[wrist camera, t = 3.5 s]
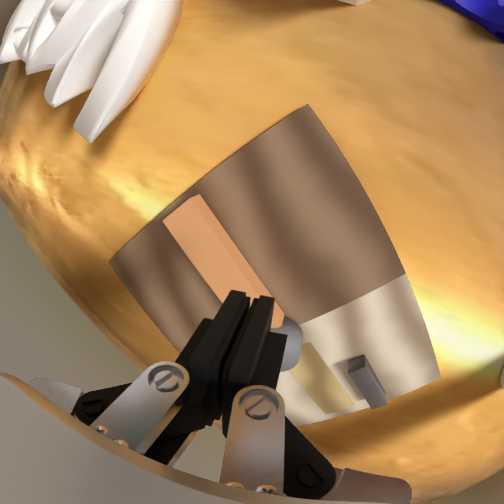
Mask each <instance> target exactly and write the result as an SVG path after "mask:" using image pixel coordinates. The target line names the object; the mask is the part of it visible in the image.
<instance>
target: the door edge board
mask: <svg viewBox="0 0 504 504" xmlns="http://www.w3.org/2000/svg"><path fill="white" fill-rule="evenodd" d="M198 194H200V195H201V197H202V198H203V200H204V201H205V203H206V204H207V205H208V207H209V208H210V210H211V211H212V213H213V214H214V215H215V217H216V218H217V220H218V221H219V223H220V224H221V225H222V227H223V228H224V230H225V231H226V233H227V234H228V235H229V237H230V238H231V240H232V241H233V242H234V244H235V245H236V247H237V248H238V250H239V251H240V252H241V254H242V255H243V257H244V258H245V259H246V261H247V262H248V264H249V265H250V266H251V268H252V269H253V271H254V272H255V274H256V275H257V276H258V278H259V279H260V281H261V282H262V283H263V285H264V286H265V288H266V289H267V290H268V292H269V293H270V295H271V296H272V297H274V298H275V302H276V303H277V304H278V306H279V307H280V309H281V310H282V311H283V313H284V314H285V315H284V317H287V318H290V319H292V320H294V321H295V322H296V323H297V324H298V325H299V326H300V327H301V329H302V332H303V340H302V347H301V353H300V359H299V362H298V364H297V365H296V366H295V367H294V368H292V369H290V370H288V371H284V372H280V374H279V379H278V383H277V387H276V391H277V392H278V393H279V394H280V395H281V396H282V398H283V399H284V404H285V416H286V417H287V418H288V419H289V420H290V421H291V423H292V424H293V425H294V426H295V427H297V426H302V425H307V424H311V423H315V422H320V421H324V420H328V419H331V418H335V417H339V416H342V415H346V414H349V413H353V412H356V411H359V410H362V409H365V408H368V407H371V409H375V408H378V407H381V406H383V405H386V404H387V401H388V400H391V399H393V398H396V397H399V396H401V395H403V394H406V393H408V392H411V391H413V390H415V389H418V388H420V387H422V386H424V385H427V384H429V383H431V382H433V381H435V380H437V379H439V378H441V376H440V372H439V368H438V364H437V361H436V357H435V354H434V350H433V347H432V344H431V340H430V337H429V334H428V331H427V328H426V325H425V322H424V319H423V317H422V314H421V311H420V308H419V306H418V303H417V300H416V298H415V295H414V292H413V290H412V287H411V285H410V282H409V280H408V278H407V275H406V273H405V271H404V268H403V266H402V264H401V261H400V259H399V257H398V255H397V253H396V250H395V248H394V246H393V244H392V242H391V240H390V238H389V236H388V234H387V232H386V230H385V228H384V226H383V224H382V222H381V220H380V218H379V216H378V214H377V212H376V210H375V208H374V206H373V205H372V203H371V201H370V199H369V197H368V196H367V194H366V192H365V190H364V188H363V187H362V185H361V183H360V182H359V180H358V178H357V176H356V175H355V173H354V171H353V170H352V168H351V166H350V165H349V163H348V162H347V160H346V158H345V157H344V155H343V154H342V152H341V151H340V149H339V147H338V146H337V144H336V143H335V141H334V140H333V138H332V137H331V135H330V134H329V133H328V131H327V130H326V128H325V127H324V125H323V124H322V122H321V121H320V120H319V118H318V117H317V115H316V114H315V113H314V111H313V110H312V109H311V107H310V106H309V105H308V104H307V105H305V106H304V107H302V108H300V109H299V110H297V111H296V112H294V113H293V114H291V115H290V116H288V117H286V118H285V119H283V120H282V121H280V122H279V123H277V124H276V125H274V126H273V127H271V128H270V129H269V130H267V131H266V132H264V133H263V134H261V135H260V136H258V137H257V138H256V139H254V140H253V141H251V142H250V143H249V144H247V145H246V146H244V147H243V148H242V149H240V150H239V151H238V152H236V153H235V154H234V155H232V156H231V157H229V158H228V159H227V160H226V161H224V162H223V163H222V164H220V165H219V166H218V167H216V168H215V169H214V170H212V171H211V172H210V173H209V174H207V175H206V176H205V177H204V178H202V179H201V180H200V181H199V182H197V183H196V184H195V185H194V186H192V187H191V188H190V189H189V190H187V191H186V192H185V193H184V194H183V195H181V196H180V197H179V198H178V199H177V200H175V201H174V202H173V203H172V204H171V205H170V206H168V207H167V208H166V209H165V210H164V211H163V212H162V213H160V214H159V215H158V216H157V217H156V218H155V219H154V220H152V221H151V222H150V223H149V224H148V225H147V226H146V227H145V228H144V229H142V230H141V231H140V232H139V233H138V234H137V235H136V236H135V237H134V238H133V239H132V240H131V241H130V242H128V243H127V244H126V245H125V246H124V247H123V248H122V249H121V250H120V251H119V252H118V253H117V254H116V255H115V256H114V257H113V258H112V259H111V260H110V261H109V263H110V265H111V266H112V267H113V269H114V270H115V272H116V273H117V275H118V276H119V277H120V279H121V280H122V282H123V283H124V284H125V286H126V287H127V288H128V290H129V291H130V293H131V294H132V295H133V297H134V298H135V299H136V300H137V302H138V303H139V304H140V306H141V307H142V308H143V310H144V311H145V312H146V313H147V315H148V316H149V317H150V318H151V320H152V321H153V322H154V323H155V324H156V326H157V327H158V328H159V329H160V330H161V332H162V333H163V334H164V335H165V336H166V338H167V339H168V340H169V341H170V342H171V343H172V345H173V346H174V347H175V348H176V349H177V350H178V351H179V352H180V353H181V352H182V350H183V349H184V347H185V346H186V344H187V343H188V341H189V340H190V338H191V336H192V335H193V333H194V332H195V330H196V329H197V327H198V326H199V324H200V323H201V321H202V320H203V319H204V318H209V319H214V317H215V316H216V314H217V312H218V311H219V309H220V307H221V306H222V304H223V303H222V302H221V301H220V299H219V298H218V297H217V295H216V294H215V293H214V291H213V290H212V289H211V287H210V286H209V285H208V283H207V282H206V281H205V279H204V278H203V277H202V275H201V274H200V273H199V271H198V270H197V269H196V267H195V266H194V265H193V263H192V262H191V261H190V259H189V258H188V256H187V255H186V254H185V252H184V251H183V249H182V248H181V247H180V245H179V244H178V242H177V241H176V240H175V238H174V237H173V235H172V234H171V233H170V231H169V230H168V228H167V227H166V225H165V224H164V222H163V220H164V219H165V218H166V217H167V216H169V215H170V214H171V213H172V212H173V211H175V210H176V209H177V208H178V207H179V206H181V205H182V204H183V203H184V202H186V201H187V200H188V199H189V198H191V197H194V196H196V195H198Z"/></svg>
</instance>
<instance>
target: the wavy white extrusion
mask: <svg viewBox="0 0 504 504" xmlns="http://www.w3.org/2000/svg"><path fill="white" fill-rule="evenodd" d="M182 8H183V0H22V1H21V2H20V4H19V5H18V7H17V8H16V10H15V12H14V14H13V15H12V17H11V19H10V21H9V23H8V25H7V27H6V30H5V33H4V36H3V40H2V44H1V47H0V64H1V63H6V62H11V61H16V60H22V61H24V62H25V63H26V75H29V74H33V73H37V72H40V71H45V70H49V69H53V68H54V69H53V71H52V73H51V75H50V78H49V80H48V82H47V85H46V88H45V91H44V94H43V95H44V97H45V99H46V101H47V103H48V104H49V105H50V106H52V107H54V108H56V107H57V106H59V105H61V104H63V103H64V102H66V101H68V100H70V99H72V98H74V97H76V96H78V95H80V94H82V93H84V92H86V91H88V90H90V89H92V88H93V89H92V91H91V93H90V95H89V97H88V99H87V101H86V103H85V104H84V106H83V108H82V110H81V112H80V114H79V116H78V117H77V119H76V121H75V123H74V124H73V127H74V128H75V130H76V131H77V132H78V133H79V134H80V135H81V136H82V137H83V138H84V139H86V140H87V141H88V142H90V143H91V144H92V142H93V141H94V140H95V139H96V138H97V137H98V136H99V135H100V133H101V132H102V131H103V130H104V129H105V128H106V127H107V126H108V125H109V124H110V123H111V122H112V121H113V120H114V119H115V118H116V117H117V116H118V115H119V114H120V113H121V112H122V111H123V110H124V109H125V108H126V107H127V106H128V105H129V104H130V103H131V102H132V101H133V100H134V99H135V98H136V97H137V95H138V94H139V93H140V92H141V90H142V89H143V88H144V86H145V85H146V84H147V82H148V81H149V79H150V78H151V77H152V75H153V73H154V72H155V70H156V69H157V67H158V66H159V64H160V62H161V60H162V59H163V57H164V55H165V53H166V51H167V49H168V47H169V45H170V43H171V41H172V39H173V37H174V34H175V32H176V29H177V26H178V23H179V20H180V17H181V13H182Z"/></svg>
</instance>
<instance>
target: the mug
mask: <svg viewBox="0 0 504 504" xmlns="http://www.w3.org/2000/svg"><path fill="white" fill-rule="evenodd" d="M338 1H341V2H345V3H348V4H352V5H355V6H357V5H360V4H363V3H366V2H370V1H373V0H338Z"/></svg>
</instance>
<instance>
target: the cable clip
mask: <svg viewBox="0 0 504 504" xmlns="http://www.w3.org/2000/svg"><path fill="white" fill-rule="evenodd" d="M438 1H440V2H442V3H444V4H446V5H448V6H450V7H451V8H453V9H455V10H457V11H458V12H460V13H462V14H463V15H465V16H467V17H468V18H470V19H472V20H473V21H475V22H476V23H478V24H479V25H481V26H482V27H484V28H485V29H486V30H488V31H489V32H491V33H492V34H493V35H495V36H496V37H497V38H499V39H500V40H501V41H503V42H504V1H503V0H438Z"/></svg>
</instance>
